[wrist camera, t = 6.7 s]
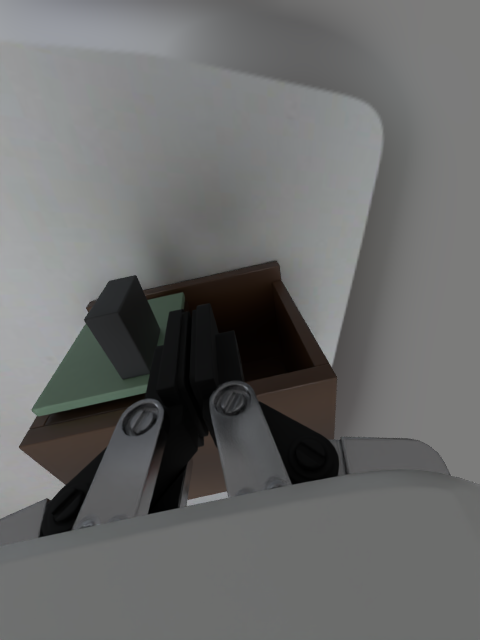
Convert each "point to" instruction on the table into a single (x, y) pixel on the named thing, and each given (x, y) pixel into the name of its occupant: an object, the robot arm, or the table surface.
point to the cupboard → (257, 363)
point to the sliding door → (111, 349)
